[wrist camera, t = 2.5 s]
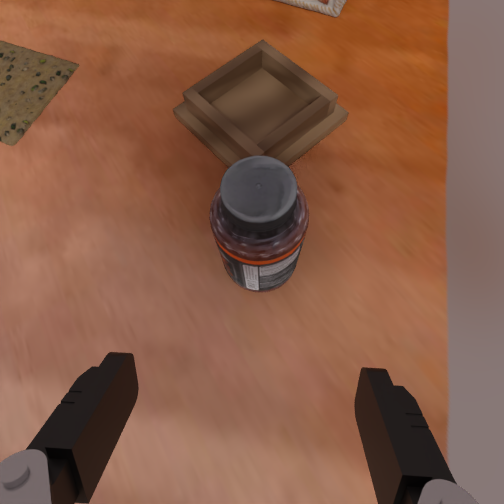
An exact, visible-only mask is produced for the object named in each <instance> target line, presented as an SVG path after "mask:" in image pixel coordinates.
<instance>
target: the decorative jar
mask: <svg viewBox="0 0 504 504" xmlns="http://www.w3.org/2000/svg"><path fill="white" fill-rule="evenodd" d="M274 1H279V2H282V3H286V4H289V5H292V6H296V7H300V8H304V9H307V10H312V11H316V12H320V13H323V14H326V15H330V16H333V17H338V16H339V14H340V12H341V10H342V8H343V6H344V4H345V3H346V1H347V0H274Z"/></svg>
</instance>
